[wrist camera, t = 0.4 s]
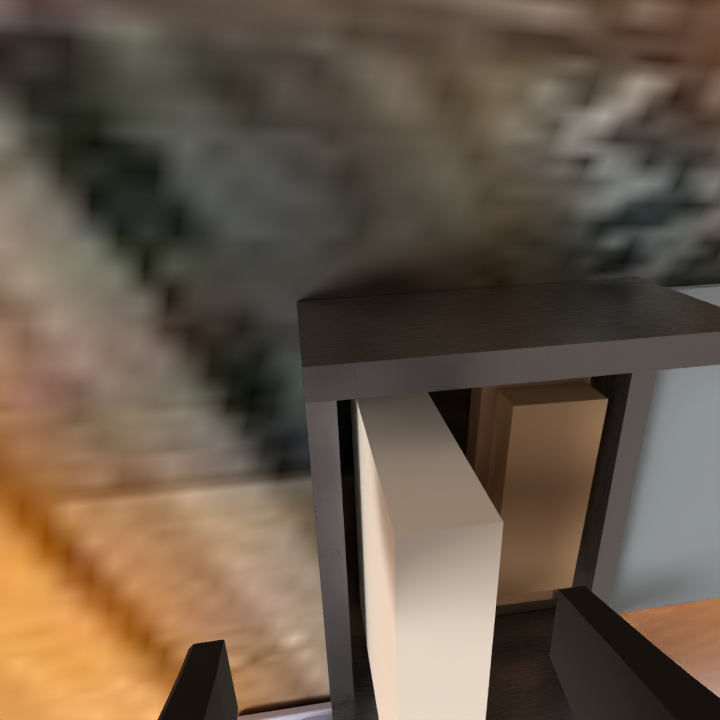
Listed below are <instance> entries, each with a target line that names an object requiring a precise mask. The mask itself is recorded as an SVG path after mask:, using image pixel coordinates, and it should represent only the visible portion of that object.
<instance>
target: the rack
mask: <svg viewBox="0 0 720 720" xmlns="http://www.w3.org/2000/svg"><path fill="white" fill-rule="evenodd" d="M297 311H298V323H299V335H300V348H301V360H302V372H303V384H304V395H305V405H306V417H307V428H308V440H309V451H310V463H311V475H312V486H313V498H314V510H315V521H316V533H317V545H318V556H319V568H320V580H321V591H322V603H323V615H324V626H325V638H326V650H327V661H328V673H329V685H330V696H331V708H332V720H379V717H378V711H377V705H376V699H375V693H374V687H373V680H372V674H371V668H370V662H369V656H368V650H367V644H366V638H365V636H362V637H355V638H351V637H350V620H349V603H348V586H347V569H346V552H345V535H344V519H343V502H342V485H341V468H340V451H339V434H338V417H337V400H347V399H358V398H369V397H379V396H390V395H401V394H411V393H422V392H433V391H443V390H454V389H465V388H475V387H486V386H497V385H507V384H518V383H529V382H539V381H550V380H561V379H571V378H582V377H593V376H598V378H597V384H596V390H597V391H599V392H600V393H601V394H602V395H604V396H605V397H606V398H608V403H607V408H606V413H605V418H604V423H603V429H602V434H601V439H600V444H599V449H598V454H597V459H596V465H595V470H594V475H593V480H592V485H591V490H590V495H589V501H588V506H587V511H586V516H585V521H584V526H583V531H582V537H581V542H580V547H579V552H578V557H577V562H576V567H575V573H574V578H573V583H572V587H570V588H573V587H579V586H586V587H587V588H588V589H589V590H590V591H592V592H593V593H594V594H595V595H596V596H597V597H599V598H600V599H601V600H602V601H603V602H604V603H605V604H607V605H608V606H609V602H610V598H611V593H612V588H613V583H614V578H615V573H616V569H617V564H618V559H619V554H620V549H621V544H622V539H623V535H624V530H625V525H626V520H627V515H628V510H629V506H630V501H631V496H632V491H633V486H634V481H635V477H636V472H637V467H638V462H639V457H640V452H641V448H642V443H643V438H644V433H645V428H646V423H647V419H648V414H649V409H650V404H651V399H652V394H653V390H654V385H655V380H656V375H657V370H667V369H678V368H689V367H699V366H710V365H720V307H719V306H717V305H714V304H711V303H708V302H705V301H703V300H700V299H697V298H694V297H692V296H689V295H686V294H683V293H680V292H678V291H675V290H672V289H669V288H667V287H664V286H661V285H658V284H655V283H653V282H650V281H647V280H644V279H642V278H639V277H631V278H617V279H603V280H589V281H575V282H561V283H547V284H533V285H519V286H505V287H491V288H477V289H463V290H449V291H435V292H421V293H407V294H393V295H379V296H364V297H350V298H336V299H322V300H308V301H297ZM564 589H566V588H564ZM555 612H556V608H553V609H546V610H539V611H532V612H526V613H519V614H512V615H505V616H498V617H495V621H494V632H493V643H492V654H491V665H490V676H489V687H488V698H487V709H486V720H577V718H576V716H575V714H574V713H573V711H572V709H571V707H570V704H569V702H568V700H567V697H566V695H565V693H564V690H563V688H562V686H561V683H560V681H559V678H558V676H557V673H556V671H555V668H554V666H553V663H552V661H551V658H550V649H551V641H552V634H553V627H554V619H555Z"/></svg>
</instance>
